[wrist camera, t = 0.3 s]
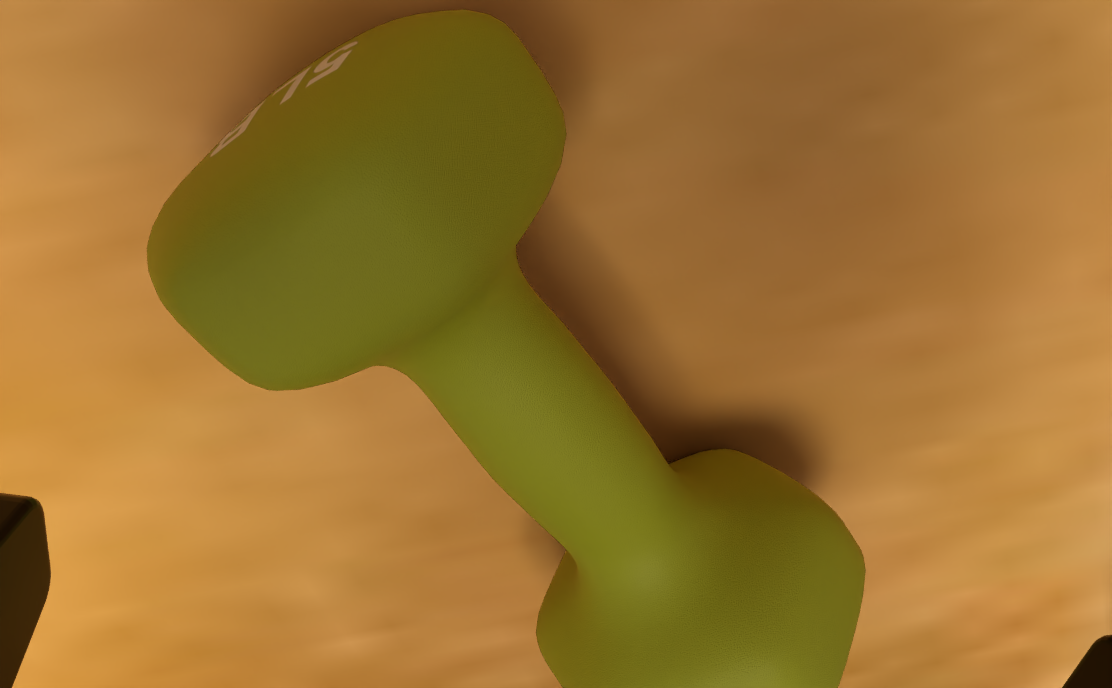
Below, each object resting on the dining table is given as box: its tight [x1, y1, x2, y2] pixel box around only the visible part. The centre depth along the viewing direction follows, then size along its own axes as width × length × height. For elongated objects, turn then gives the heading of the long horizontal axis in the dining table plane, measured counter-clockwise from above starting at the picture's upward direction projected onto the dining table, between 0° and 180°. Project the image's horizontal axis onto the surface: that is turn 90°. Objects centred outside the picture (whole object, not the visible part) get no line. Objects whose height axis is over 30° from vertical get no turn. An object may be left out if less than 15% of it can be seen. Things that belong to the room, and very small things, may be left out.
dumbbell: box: [147, 9, 866, 688], centre depth 20 cm, size 16×8×7 cm, turn 32°
